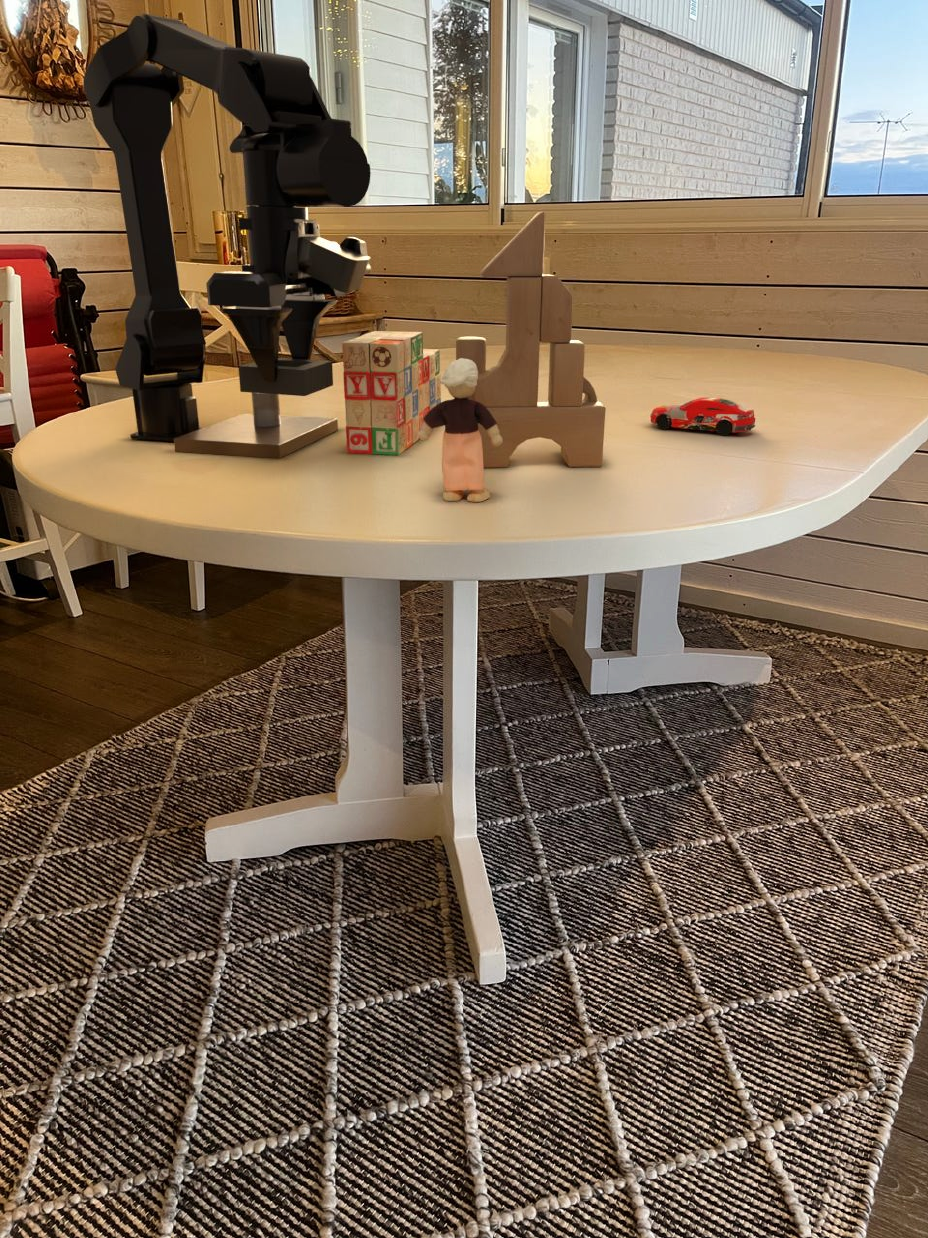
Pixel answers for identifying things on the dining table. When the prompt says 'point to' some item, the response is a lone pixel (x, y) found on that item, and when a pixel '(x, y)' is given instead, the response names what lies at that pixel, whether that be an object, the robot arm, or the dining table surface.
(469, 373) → the grandmother figurine
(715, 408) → the race car
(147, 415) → the robot arm
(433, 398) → the stack of blocks
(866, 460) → the dining table surface
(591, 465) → the wooden toy
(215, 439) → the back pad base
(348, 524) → the dining table surface
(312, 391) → the rubber pad
